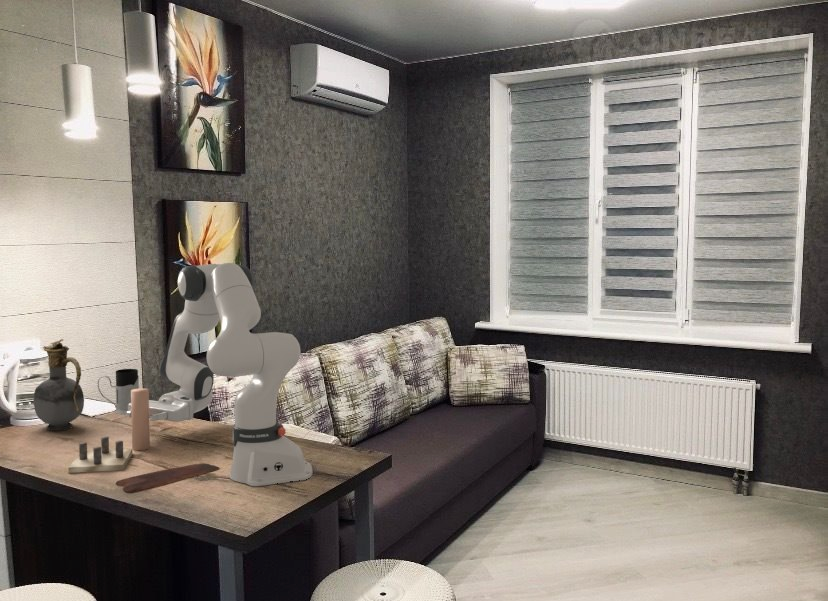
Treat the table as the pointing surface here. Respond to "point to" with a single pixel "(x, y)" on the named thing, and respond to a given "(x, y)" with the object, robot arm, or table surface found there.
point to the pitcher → (59, 391)
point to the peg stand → (100, 458)
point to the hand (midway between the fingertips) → (139, 416)
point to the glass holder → (123, 388)
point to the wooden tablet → (164, 477)
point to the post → (140, 419)
